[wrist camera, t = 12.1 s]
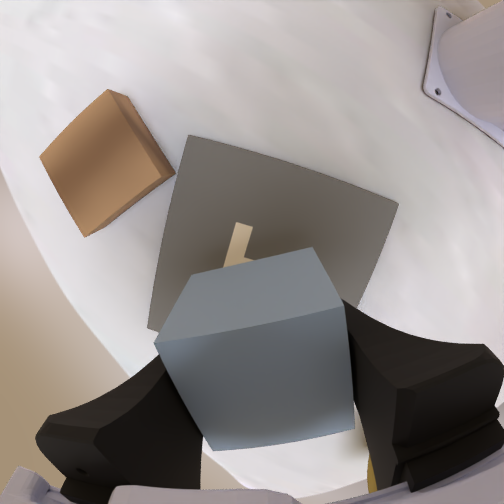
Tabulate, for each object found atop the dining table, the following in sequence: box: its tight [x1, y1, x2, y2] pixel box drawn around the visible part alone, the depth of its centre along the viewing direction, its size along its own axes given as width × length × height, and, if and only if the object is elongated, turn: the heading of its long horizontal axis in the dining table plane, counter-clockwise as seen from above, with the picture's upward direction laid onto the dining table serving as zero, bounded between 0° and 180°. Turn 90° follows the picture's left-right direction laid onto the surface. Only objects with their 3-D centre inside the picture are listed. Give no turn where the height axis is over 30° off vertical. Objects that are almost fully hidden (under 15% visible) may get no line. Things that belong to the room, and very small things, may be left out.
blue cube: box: [154, 247, 355, 451], centre depth 10 cm, size 5×5×5 cm
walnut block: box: [39, 89, 176, 238], centre depth 16 cm, size 6×6×3 cm
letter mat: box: [147, 135, 399, 332], centre depth 18 cm, size 13×13×1 cm
